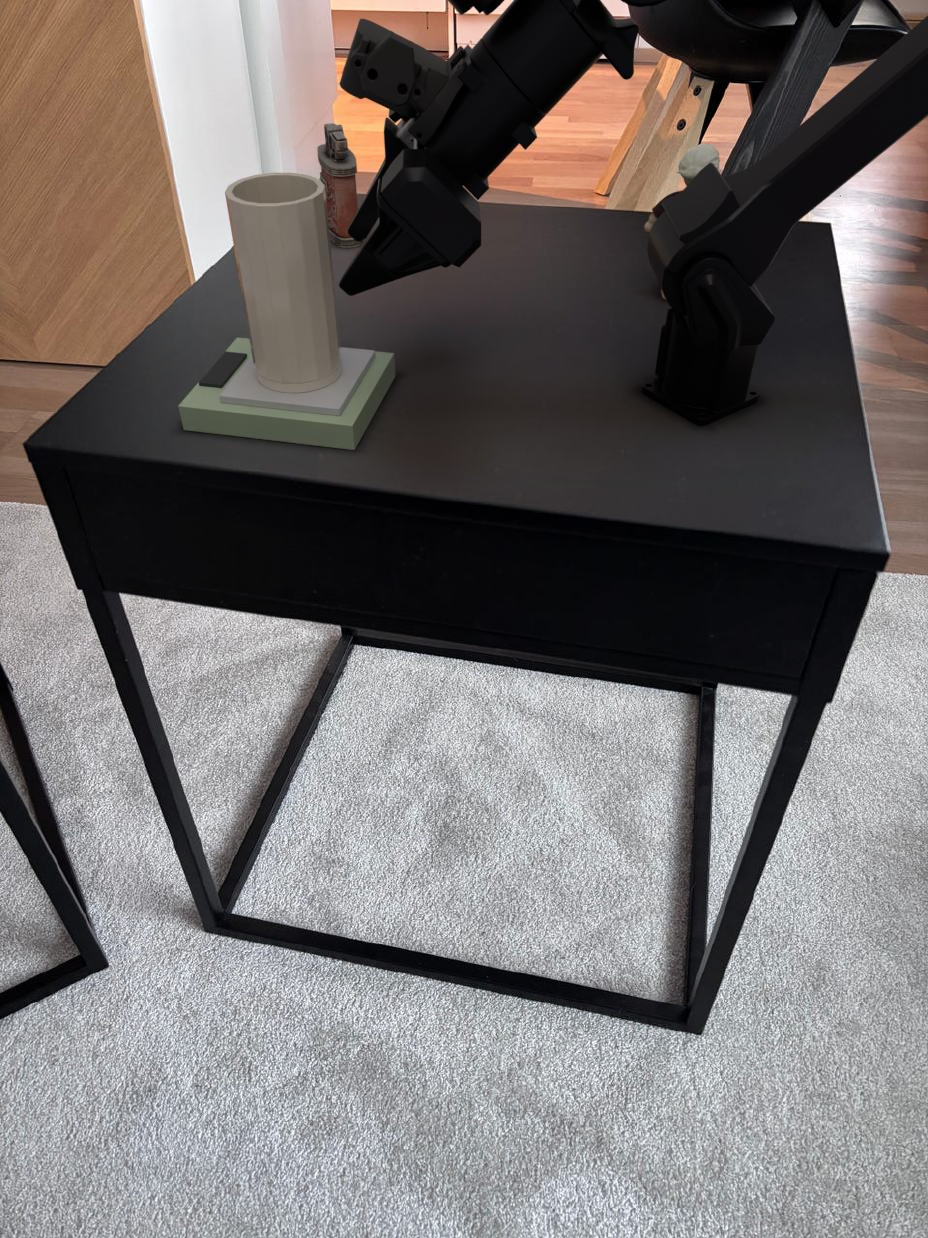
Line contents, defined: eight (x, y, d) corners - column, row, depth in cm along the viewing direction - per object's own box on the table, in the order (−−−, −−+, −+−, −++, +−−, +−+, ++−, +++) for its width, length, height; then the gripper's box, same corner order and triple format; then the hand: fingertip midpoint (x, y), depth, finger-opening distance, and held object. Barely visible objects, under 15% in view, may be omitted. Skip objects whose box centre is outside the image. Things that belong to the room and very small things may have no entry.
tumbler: (328, 346, 73) (309, 167, 64) (352, 383, 68) (336, 197, 60) (247, 361, 71) (216, 179, 62) (267, 400, 67) (237, 210, 58)
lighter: (319, 221, 99) (308, 116, 92) (351, 217, 100) (342, 113, 93) (335, 249, 94) (324, 140, 87) (368, 245, 94) (360, 137, 88)
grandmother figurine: (719, 287, 87) (747, 138, 78) (724, 305, 84) (753, 152, 75) (635, 284, 87) (653, 136, 79) (637, 302, 84) (656, 150, 76)
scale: (395, 376, 74) (393, 345, 73) (354, 450, 66) (351, 417, 65) (241, 360, 76) (235, 329, 75) (183, 430, 69) (176, 398, 67)
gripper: (416, -60, 60) (268, 132, 67) (414, -4, 46) (228, 229, 53) (535, 77, 65) (386, 241, 73) (564, 164, 52) (377, 355, 59)
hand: (348, 261), depth 64 cm, fingers open, 9 cm apart
